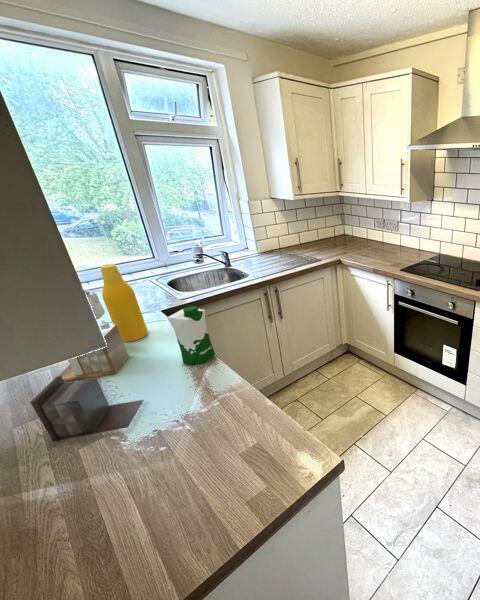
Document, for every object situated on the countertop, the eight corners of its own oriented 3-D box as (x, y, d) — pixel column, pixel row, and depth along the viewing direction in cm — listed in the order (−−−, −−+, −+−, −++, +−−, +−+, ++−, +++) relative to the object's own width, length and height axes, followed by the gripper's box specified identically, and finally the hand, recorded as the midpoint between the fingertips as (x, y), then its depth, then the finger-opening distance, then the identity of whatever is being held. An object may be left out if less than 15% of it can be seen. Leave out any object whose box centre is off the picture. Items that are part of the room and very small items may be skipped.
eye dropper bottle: (104, 354, 116) (91, 325, 112) (110, 346, 121) (98, 317, 116) (119, 352, 118) (107, 322, 113) (124, 344, 123) (113, 315, 118)
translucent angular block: (54, 383, 102) (35, 347, 97) (74, 363, 111) (58, 330, 106) (115, 374, 106) (101, 339, 101) (129, 355, 116) (117, 323, 111)
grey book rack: (52, 444, 81) (28, 403, 75) (77, 413, 90) (57, 375, 85) (129, 430, 85) (111, 390, 80) (145, 402, 95) (130, 364, 89)
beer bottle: (146, 339, 126) (120, 267, 114) (116, 344, 123) (86, 271, 111) (150, 328, 134) (127, 260, 122) (122, 333, 130) (95, 263, 118)
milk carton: (201, 368, 110) (185, 314, 101) (178, 364, 111) (161, 312, 103) (219, 353, 117) (206, 303, 109) (197, 350, 119) (183, 301, 111)
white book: (75, 375, 104) (55, 334, 98) (90, 360, 112) (72, 321, 106) (83, 374, 104) (64, 333, 98) (97, 359, 112) (80, 320, 106)
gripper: (99, 286, 103) (114, 325, 108) (16, 293, 97) (36, 333, 103) (89, 293, 97) (105, 334, 103) (0, 301, 91) (22, 344, 97)
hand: (70, 334), depth 103 cm, fingers open, 8 cm apart
